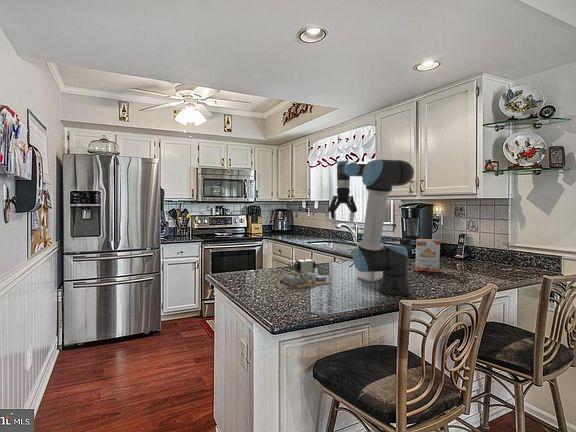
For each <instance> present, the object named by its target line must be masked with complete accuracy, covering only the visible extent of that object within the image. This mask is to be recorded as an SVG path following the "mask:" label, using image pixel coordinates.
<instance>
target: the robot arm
mask: <svg viewBox="0 0 576 432" xmlns="http://www.w3.org/2000/svg"><path fill="white" fill-rule="evenodd" d="M414 174H415V170H414V167H413V166H412V165H411V163H409V162H408V161H406V160H402V159H380V158H379V159H377V158H376V159H370V160H368V161H367V163H365V162H356V161H349V160H339V161H337V163H336V195H332V200H331V202H330V204H329V207H328V210H327V212H330V218H331V225H336V222H337V220H336V219H337V213H336V211H337V209H338V208H339V206H340V205H341V204H345V205H346V207H347V208H348V210H349V211H350V212H349V224H355V222H354V219H355V213H356V212H358V208H357V206H356V203H355V200H354V196H353V195H350V193H351V191H350V190H351V189H350V187H351V181H350V180H351V177H361V178H362V180H361V181H362V184H363V185H364V186H365V189H366V191H367V192H368V194H367V202H366V209H365V217H364V218H365V219H364V225H363V232H362V233H363V234H362V240H360V241H358V242H359V245H358V248H357V247H354V248H353V250H352V261H353V265H354V267H355V268H356V271H357V270H358V271H360V272H380V271H383V276H382V279H380V282H379V285H378V292H379V293H381V294H383V295H388V296H397V297H403V296H404V295H405V296H409V295H411V294H412V289H411V287H410V283H409V279H408V261H409V260H408V259H409V253H408V249H407V248H406V247H405V246H400V245H395V244H386V243H383V244H384V245H382V244H381V243H382V237H383V229H384V222H385V215H386V209H387V203H388V195H389V194H390V193H391V192H392V191H393V187H401V186H405V185H407V184H408V183H410V182H412V180H413V178H414Z"/></svg>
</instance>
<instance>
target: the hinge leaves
mask: <svg viewBox="0 0 576 432" xmlns="http://www.w3.org/2000/svg"><path fill="white" fill-rule="evenodd" d="M307 274H309V276H310V279H311V283H312V284H315V283H316V281H318V282H320V281H326V280H327V276H325V275H321V274H317V273H314V272H308V273H307ZM298 276H299V273H298V272H296V271H295V270H294V269H293V274H285V275H282V278H283V279H284V280H286V281H289V282H292V283H294V284H305V280H304V279H301V278H299V277H298Z"/></svg>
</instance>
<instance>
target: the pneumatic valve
mask: <svg viewBox="0 0 576 432" xmlns="http://www.w3.org/2000/svg"><path fill="white" fill-rule="evenodd" d="M316 267H317V265H316V262H315V260H314V259H310V258H308V259H306V257H304V258H303V259H296V260H295V262H294V263H293V271H294V270H295V271H296V272H298V274H300V275H299V276H300V278H301V279H304V280H305V281H306V280H309V278H310V276H309V274H307V273H308V272H312V273H314V271H315V269H316Z"/></svg>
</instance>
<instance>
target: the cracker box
mask: <svg viewBox="0 0 576 432" xmlns="http://www.w3.org/2000/svg"><path fill="white" fill-rule="evenodd" d="M415 241H416V246H415V271H416V272H418V271H428V272H427V273H432V272H439V273H440V257H441V254H440V253H441V240H440V239H429V238H428V239H427V238H424V239H423V238H416V239H415Z"/></svg>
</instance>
